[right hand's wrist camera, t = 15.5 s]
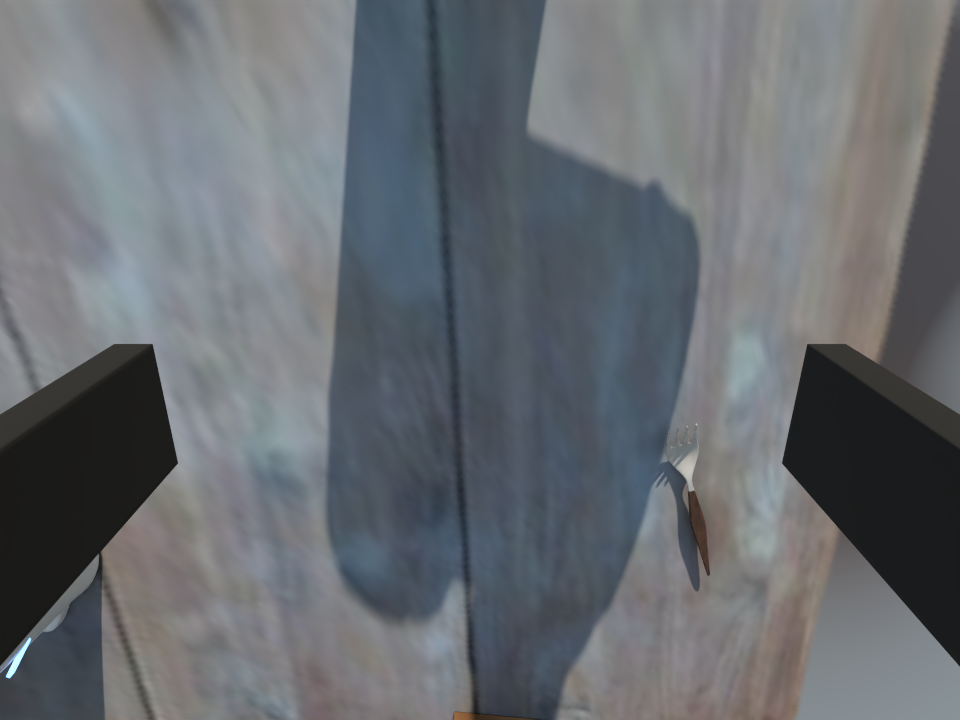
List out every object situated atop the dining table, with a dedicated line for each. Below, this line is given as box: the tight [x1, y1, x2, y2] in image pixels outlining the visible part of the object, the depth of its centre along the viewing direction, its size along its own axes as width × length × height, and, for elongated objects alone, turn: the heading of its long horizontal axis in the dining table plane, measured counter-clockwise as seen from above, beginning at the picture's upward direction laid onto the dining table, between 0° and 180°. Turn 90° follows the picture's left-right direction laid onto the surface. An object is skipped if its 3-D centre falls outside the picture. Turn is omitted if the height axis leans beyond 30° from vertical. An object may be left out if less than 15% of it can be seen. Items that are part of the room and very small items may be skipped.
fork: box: [666, 424, 710, 575], centre depth 50 cm, size 3×16×2 cm, turn 16°
